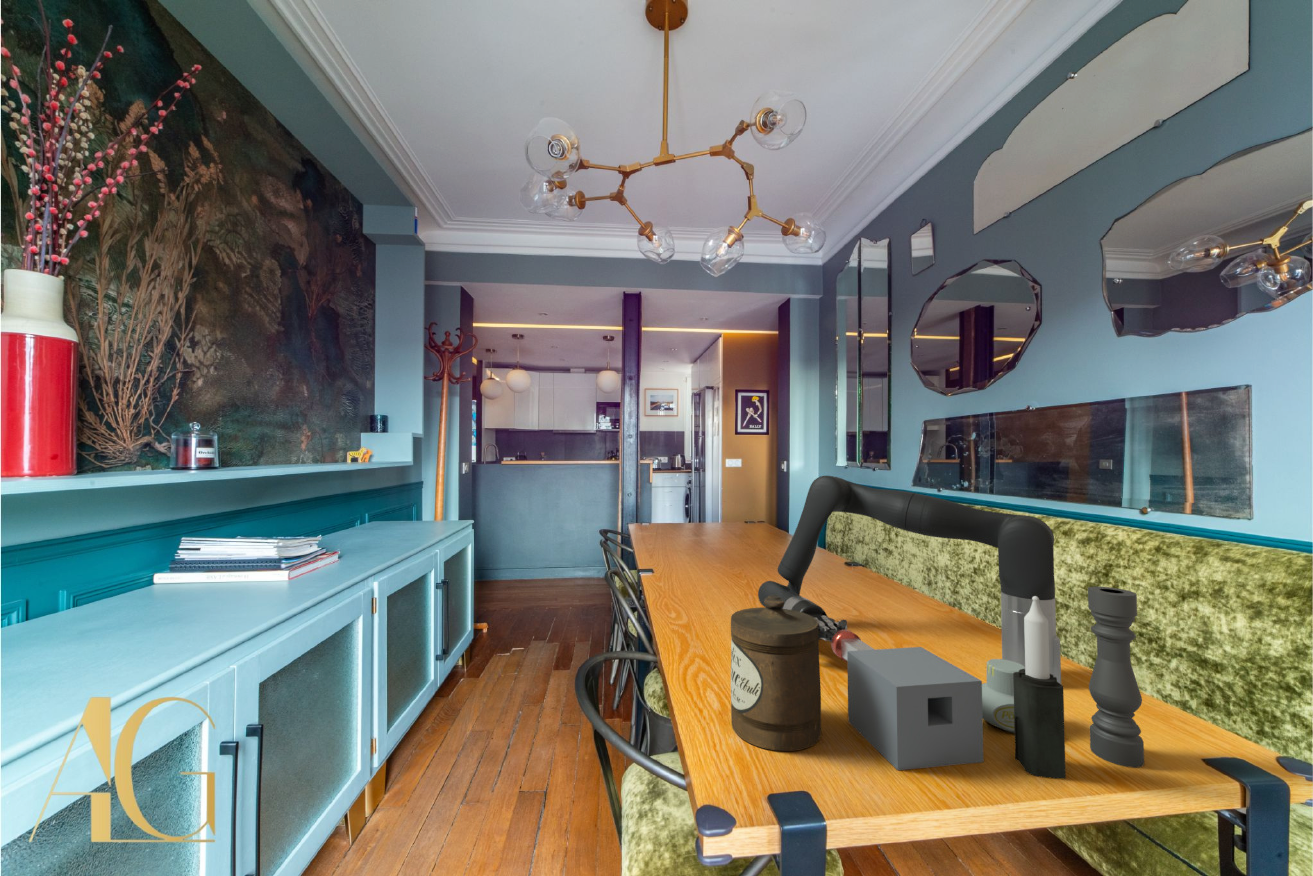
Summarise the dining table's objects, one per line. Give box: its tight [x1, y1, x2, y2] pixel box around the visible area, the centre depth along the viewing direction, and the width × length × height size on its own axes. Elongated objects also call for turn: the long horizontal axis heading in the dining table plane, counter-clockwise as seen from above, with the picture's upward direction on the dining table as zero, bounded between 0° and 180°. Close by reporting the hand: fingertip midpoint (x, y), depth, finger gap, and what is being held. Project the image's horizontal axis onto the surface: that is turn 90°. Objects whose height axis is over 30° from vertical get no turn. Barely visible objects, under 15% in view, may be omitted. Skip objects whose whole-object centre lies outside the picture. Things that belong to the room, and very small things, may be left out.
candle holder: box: [1087, 586, 1145, 768], centre depth 80 cm, size 6×6×25 cm
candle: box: [1013, 596, 1066, 779], centre depth 77 cm, size 5×5×25 cm
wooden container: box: [730, 595, 822, 752], centre depth 88 cm, size 15×15×22 cm
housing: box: [846, 646, 984, 771], centre depth 83 cm, size 14×14×12 cm
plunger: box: [830, 629, 876, 662], centre depth 94 cm, size 20×6×6 cm, turn 9°
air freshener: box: [982, 658, 1025, 734], centre depth 89 cm, size 11×8×10 cm
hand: (840, 641), depth 106 cm, fingers closed
